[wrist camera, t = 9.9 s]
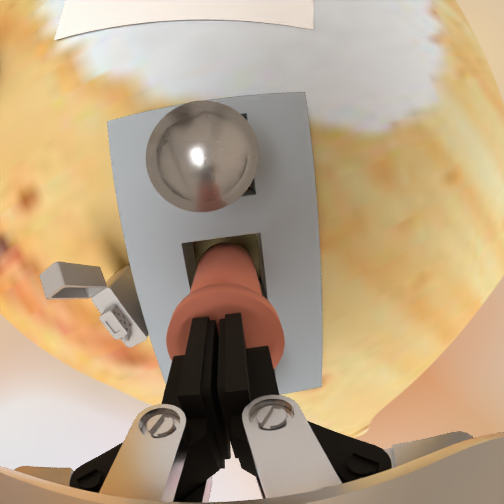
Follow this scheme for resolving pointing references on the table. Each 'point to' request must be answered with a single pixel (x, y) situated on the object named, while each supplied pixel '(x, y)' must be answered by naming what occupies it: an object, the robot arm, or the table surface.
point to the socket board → (231, 229)
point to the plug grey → (202, 156)
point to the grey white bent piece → (100, 297)
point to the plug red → (227, 301)
